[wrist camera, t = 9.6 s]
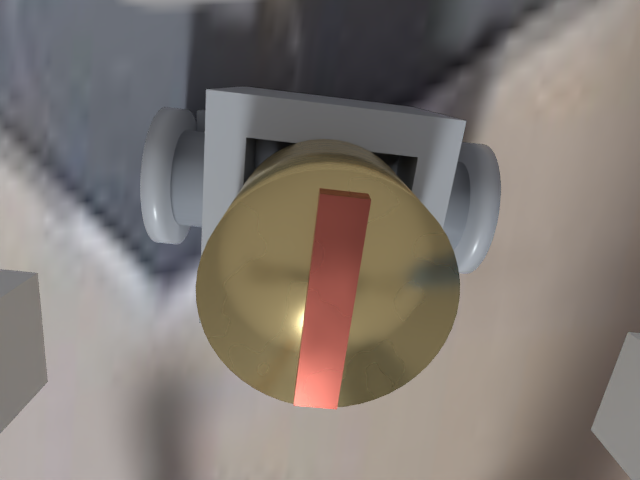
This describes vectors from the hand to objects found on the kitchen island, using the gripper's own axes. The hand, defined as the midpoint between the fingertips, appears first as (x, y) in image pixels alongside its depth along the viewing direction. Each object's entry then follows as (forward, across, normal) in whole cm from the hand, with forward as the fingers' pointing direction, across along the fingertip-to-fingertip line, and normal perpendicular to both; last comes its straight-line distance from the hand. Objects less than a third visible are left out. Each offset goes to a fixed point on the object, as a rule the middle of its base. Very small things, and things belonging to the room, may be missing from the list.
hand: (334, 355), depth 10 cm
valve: (+10, 0, 0) cm, 11 cm away
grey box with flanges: (+18, 0, -1) cm, 18 cm away
